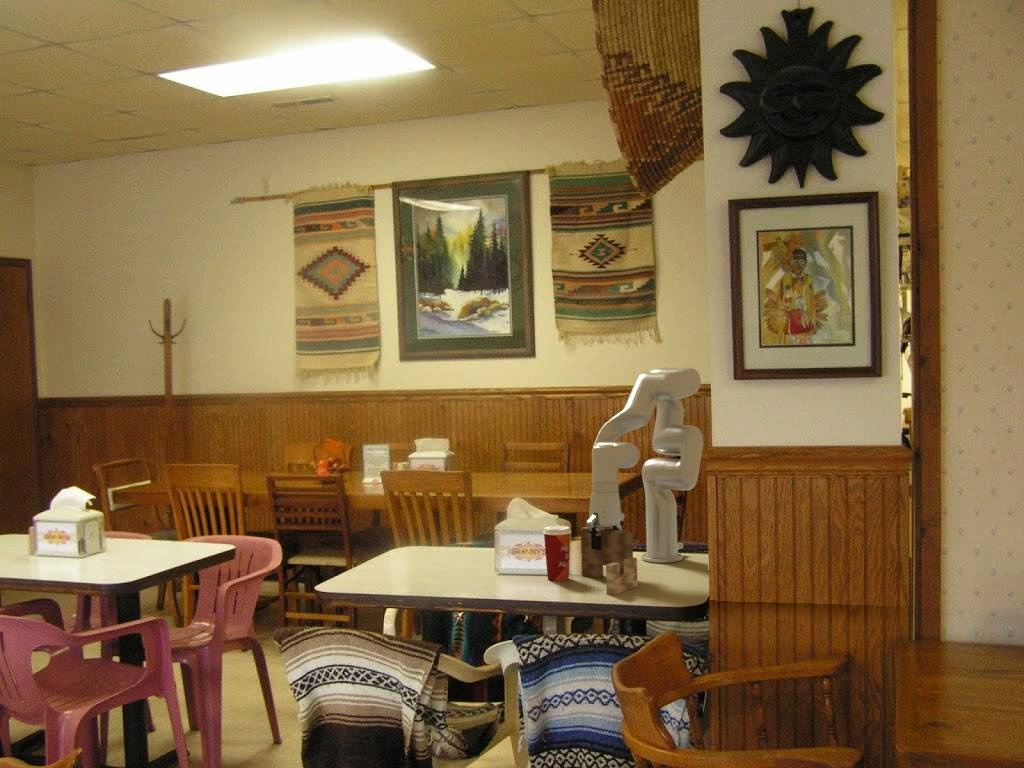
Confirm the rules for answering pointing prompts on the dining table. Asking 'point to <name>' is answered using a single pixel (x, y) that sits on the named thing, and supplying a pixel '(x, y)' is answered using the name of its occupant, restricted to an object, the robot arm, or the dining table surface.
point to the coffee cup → (557, 552)
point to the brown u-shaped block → (621, 576)
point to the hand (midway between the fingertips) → (606, 546)
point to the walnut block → (605, 551)
